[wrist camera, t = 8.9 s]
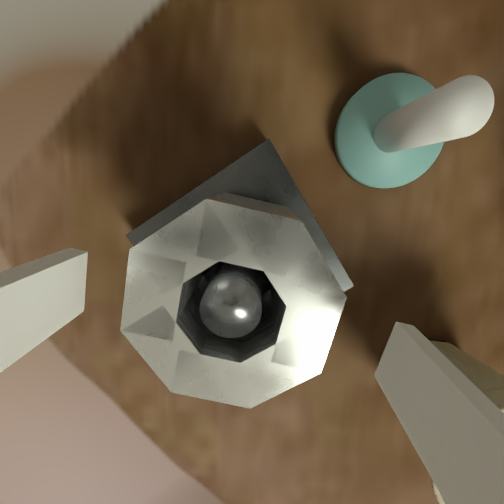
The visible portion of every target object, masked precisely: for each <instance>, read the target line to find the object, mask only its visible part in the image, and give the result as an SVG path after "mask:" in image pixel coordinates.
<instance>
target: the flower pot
mask: <svg viewBox="0 0 504 504" xmlns="http://www.w3.org/2000/svg"><path fill="white" fill-rule="evenodd" d="M429 341H430V340H429ZM430 342H431V343H432V344H433V345H434V346H435V347H436V348H437V349H438V350H439V351H440V352H441V353H442V354H443V355H444V356H445V357H446V358H448V359H449V360H450V361H451V362H452V363H453V364H454V365H455V366H456V367H457V368H458V369H459V370H460V371H461V372H462V373H463V374H464V375H465V376H466V377H467V378H468V379H469V380H470V381H471V382H472V383H473V384H474V385H475V386H476V387H477V388H478V389H479V390H480V391H481V392H482V393H483V394H484V395H485V396H487V397H488V398H489V399H490V400H491V401H492V402H493V403H494V404H495V405H496V406H497V407H498V408H499V409H500V410H501V411H502V412H503V413H504V376H503V375H501V374H500V373H498V372H496V371H495V370H493V369H491V368H490V367H488V366H486V365H485V364H483V363H481V362H480V361H478V360H477V359H475V358H473V357H472V356H470V355H468V354H467V353H465V352H463V351H462V350H460V349H459V348H457V347H456V346H454V345H452V344H450V343H447V342H438V341H430ZM431 484H432V488H433V492H434V494H435V496H436V499H437V500H438V502H439V504H446V503H445V501H444V499H443V497H442V496H441V494H440V492H439V490H438V489H437V487H436V485H435V483H434V481H433V480H432V478H431Z"/></svg>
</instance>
